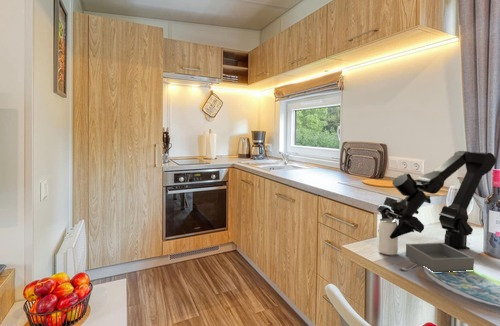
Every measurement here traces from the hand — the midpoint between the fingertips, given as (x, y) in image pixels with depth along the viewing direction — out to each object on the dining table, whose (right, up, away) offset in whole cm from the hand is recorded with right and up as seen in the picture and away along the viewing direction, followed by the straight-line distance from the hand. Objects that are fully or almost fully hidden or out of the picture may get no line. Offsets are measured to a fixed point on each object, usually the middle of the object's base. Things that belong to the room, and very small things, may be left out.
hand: (384, 234), depth 103 cm
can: (+2, -7, +1) cm, 7 cm away
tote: (+14, -8, -8) cm, 18 cm away
